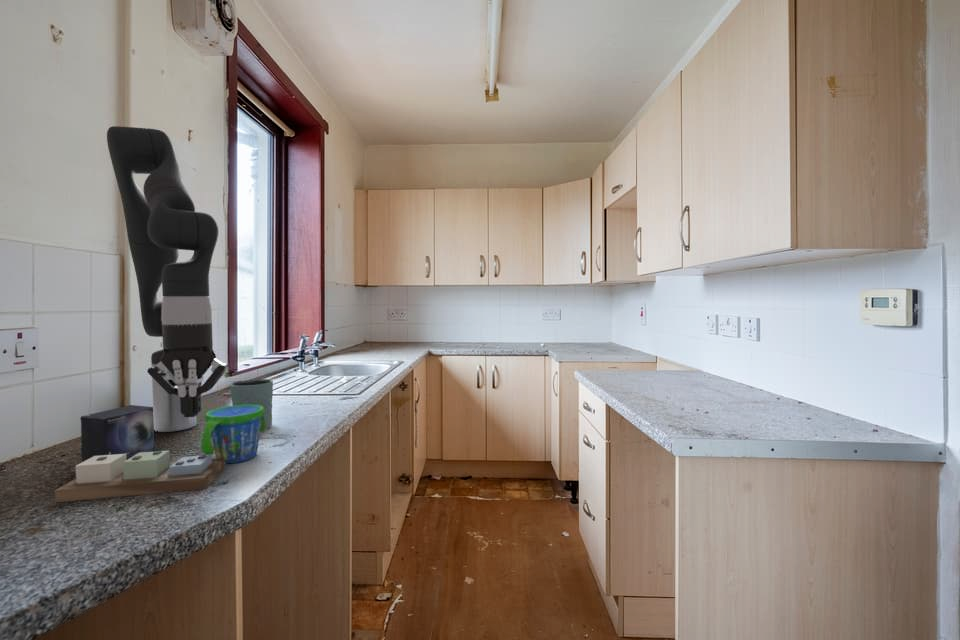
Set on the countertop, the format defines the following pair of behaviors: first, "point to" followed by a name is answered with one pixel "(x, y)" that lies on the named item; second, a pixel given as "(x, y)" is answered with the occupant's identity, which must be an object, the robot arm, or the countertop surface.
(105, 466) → the tile one
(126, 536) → the countertop surface
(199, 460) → the tile three
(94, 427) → the small box
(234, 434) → the snack cup
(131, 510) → the countertop surface
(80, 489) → the board
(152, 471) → the tile two
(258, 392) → the grey green plant pot
